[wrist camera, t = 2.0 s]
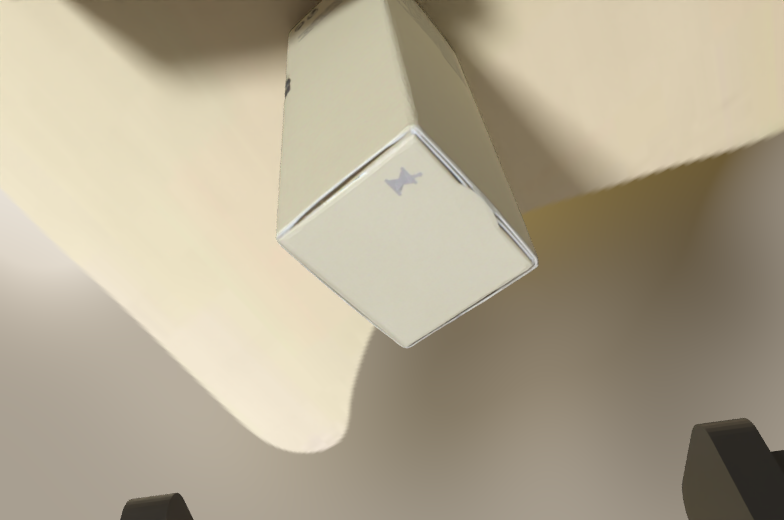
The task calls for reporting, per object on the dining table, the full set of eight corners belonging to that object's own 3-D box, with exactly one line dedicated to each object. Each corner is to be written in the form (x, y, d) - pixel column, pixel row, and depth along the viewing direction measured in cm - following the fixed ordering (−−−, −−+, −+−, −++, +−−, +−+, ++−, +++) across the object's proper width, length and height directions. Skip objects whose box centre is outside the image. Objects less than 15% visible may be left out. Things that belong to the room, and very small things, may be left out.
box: (284, 31, 27) (254, 234, 16) (377, -52, 25) (410, 113, 15) (378, 131, 29) (404, 360, 19) (467, 61, 28) (549, 268, 17)
